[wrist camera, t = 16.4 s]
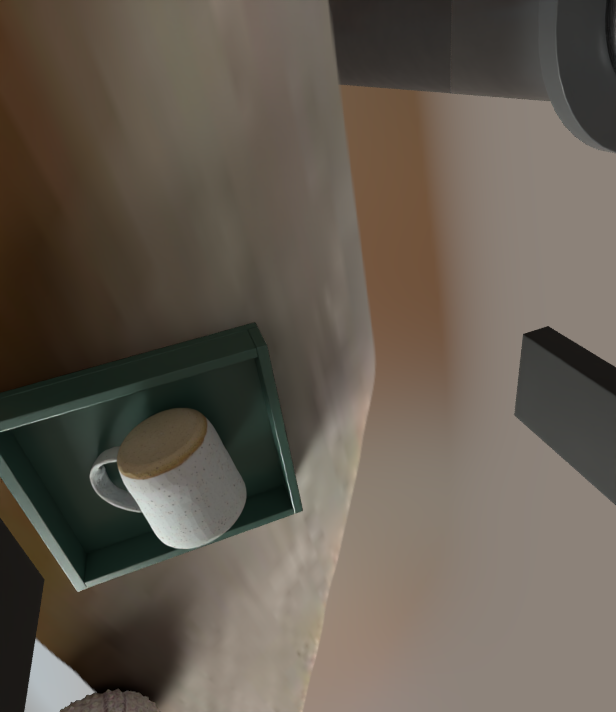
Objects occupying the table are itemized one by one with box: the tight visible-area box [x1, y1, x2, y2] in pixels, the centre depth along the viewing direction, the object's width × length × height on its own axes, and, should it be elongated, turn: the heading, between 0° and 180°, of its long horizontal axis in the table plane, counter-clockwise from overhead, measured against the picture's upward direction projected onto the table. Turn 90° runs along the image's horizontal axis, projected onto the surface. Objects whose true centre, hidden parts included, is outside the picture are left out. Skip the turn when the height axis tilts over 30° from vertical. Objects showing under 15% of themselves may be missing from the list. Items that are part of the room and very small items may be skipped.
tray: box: [0, 322, 303, 591], centre depth 39 cm, size 20×18×4 cm
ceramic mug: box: [90, 408, 246, 549], centre depth 37 cm, size 11×8×8 cm
